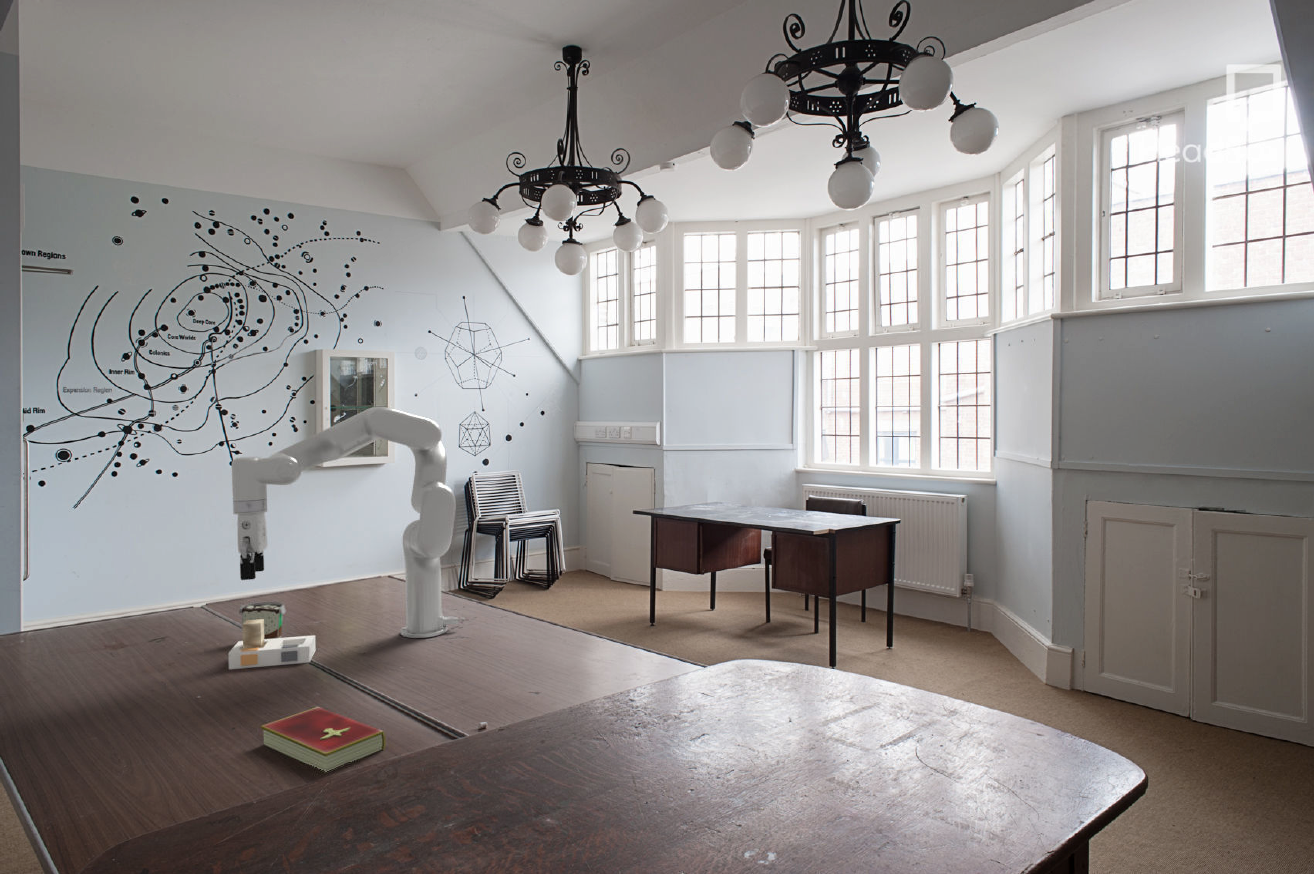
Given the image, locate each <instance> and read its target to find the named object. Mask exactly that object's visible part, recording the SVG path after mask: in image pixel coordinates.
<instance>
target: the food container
mask: <svg viewBox="0 0 1314 874" xmlns="http://www.w3.org/2000/svg"><path fill="white" fill-rule="evenodd" d="M285 607H286V606H285V605H284V603H283V602H281V601H280V602H279V601H258V602H252V603H247V604H243V605H240V607H239V610H238V615H239V614H240V616H241V624H242V625H241V626H242V627H243V624H244V622H245V621H246V620H257V619H264V639H274V638H282V632H283V631H282V628H283V618H284V614H285V613H286V612H287V610H286V608H285Z"/></svg>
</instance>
